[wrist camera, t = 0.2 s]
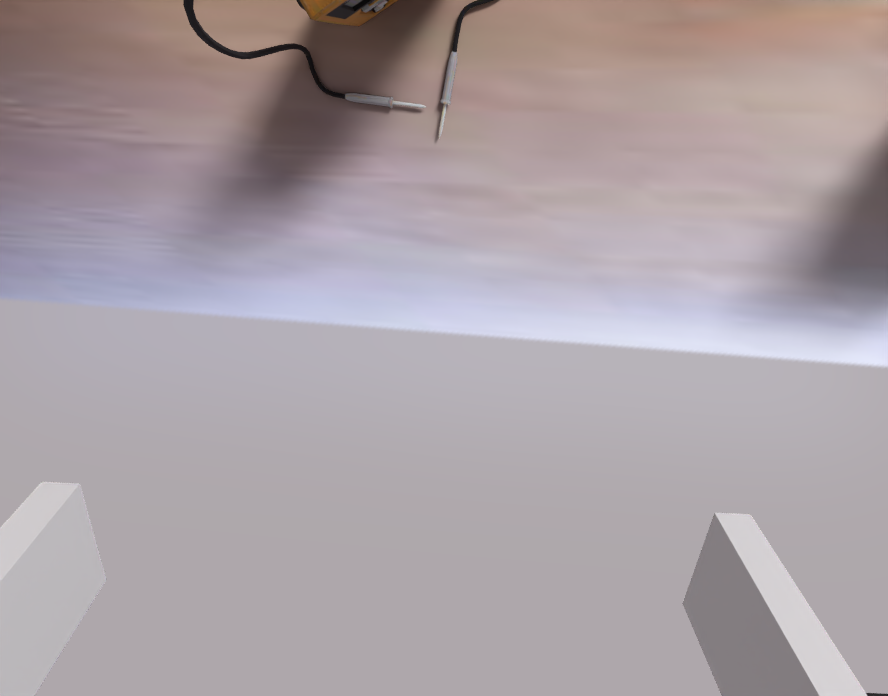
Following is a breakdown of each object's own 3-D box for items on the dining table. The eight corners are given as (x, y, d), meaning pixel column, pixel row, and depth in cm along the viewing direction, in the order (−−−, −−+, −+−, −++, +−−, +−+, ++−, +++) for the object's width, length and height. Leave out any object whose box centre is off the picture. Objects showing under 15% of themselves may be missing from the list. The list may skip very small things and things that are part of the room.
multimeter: (373, 178, 37) (307, 308, 19) (273, 16, 33) (72, -12, 15) (595, 44, 33) (768, 51, 16) (514, -154, 29) (624, -449, 12)
